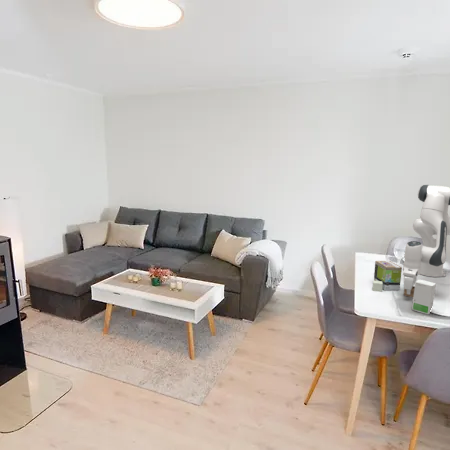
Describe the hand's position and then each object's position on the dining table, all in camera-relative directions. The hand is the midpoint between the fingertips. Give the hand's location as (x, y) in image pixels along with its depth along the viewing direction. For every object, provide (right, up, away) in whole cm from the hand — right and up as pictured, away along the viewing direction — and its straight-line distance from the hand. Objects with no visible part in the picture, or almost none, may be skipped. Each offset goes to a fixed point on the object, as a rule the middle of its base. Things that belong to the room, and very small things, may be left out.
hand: (409, 292), depth 197 cm
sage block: (-15, 0, +9) cm, 17 cm away
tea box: (-7, +1, +15) cm, 16 cm away
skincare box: (-5, -6, -21) cm, 22 cm away
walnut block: (0, -2, 0) cm, 2 cm away
